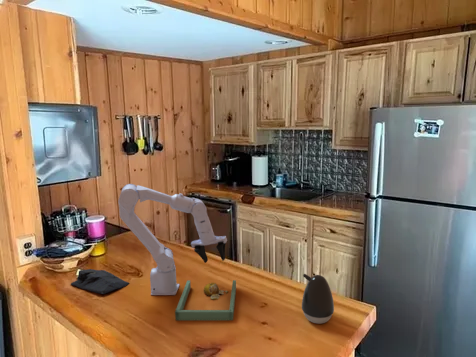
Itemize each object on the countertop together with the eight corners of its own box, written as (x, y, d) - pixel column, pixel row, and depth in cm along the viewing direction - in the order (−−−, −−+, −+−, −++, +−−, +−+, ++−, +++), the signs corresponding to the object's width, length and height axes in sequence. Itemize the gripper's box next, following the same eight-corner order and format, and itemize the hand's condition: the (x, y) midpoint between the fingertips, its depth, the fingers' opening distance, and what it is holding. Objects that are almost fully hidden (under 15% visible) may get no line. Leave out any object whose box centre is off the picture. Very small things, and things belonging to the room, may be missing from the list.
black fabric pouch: (98, 301, 131) (97, 289, 130) (68, 284, 144) (66, 274, 143) (132, 284, 143) (132, 273, 142) (101, 271, 156) (100, 261, 155)
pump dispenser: (310, 306, 123) (310, 265, 120) (338, 317, 116) (340, 274, 113) (295, 320, 115) (295, 277, 112) (324, 332, 108) (325, 286, 105)
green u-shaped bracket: (175, 320, 117) (175, 312, 116) (187, 287, 138) (187, 280, 138) (233, 320, 116) (232, 312, 115) (236, 287, 137) (235, 280, 137)
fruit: (215, 302, 128) (215, 292, 127) (198, 295, 133) (197, 286, 132) (229, 292, 134) (229, 283, 134) (212, 286, 139) (212, 278, 138)
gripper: (225, 222, 137) (234, 253, 140) (192, 227, 142) (202, 257, 145) (219, 230, 131) (229, 262, 134) (185, 235, 135) (195, 266, 139)
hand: (215, 260), depth 139 cm, fingers open, 7 cm apart
